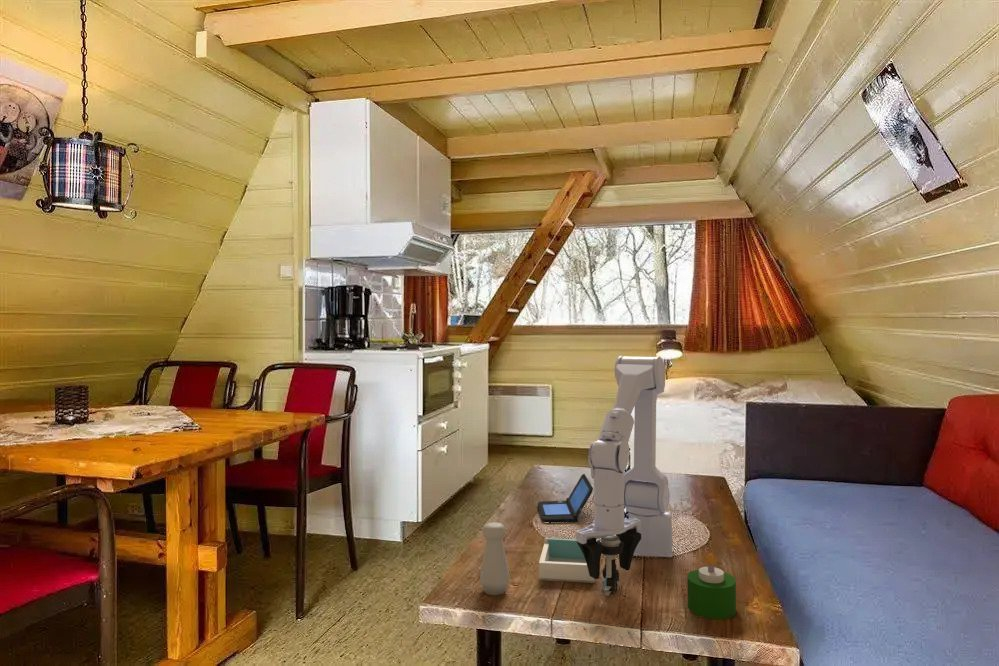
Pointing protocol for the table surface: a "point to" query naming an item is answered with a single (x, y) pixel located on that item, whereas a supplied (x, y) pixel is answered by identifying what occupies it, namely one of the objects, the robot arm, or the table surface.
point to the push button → (610, 562)
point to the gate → (564, 548)
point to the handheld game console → (567, 504)
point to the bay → (563, 568)
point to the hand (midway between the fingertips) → (609, 572)
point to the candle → (711, 592)
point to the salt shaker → (494, 560)
